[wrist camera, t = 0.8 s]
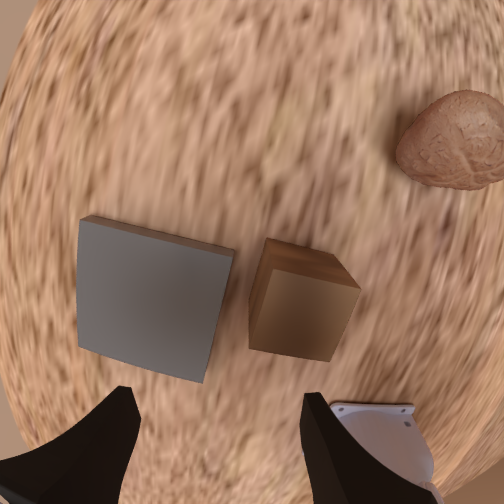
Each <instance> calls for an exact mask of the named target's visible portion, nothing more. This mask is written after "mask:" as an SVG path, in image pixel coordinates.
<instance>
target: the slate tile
mask: <svg viewBox="0 0 504 504" xmlns="http://www.w3.org/2000/svg"><path fill="white" fill-rule="evenodd" d="M233 255H234V250H232V249H228V248H224V247H220V246H216V245H212V244H208V243H203V242H199V241H195V240H191V239H187V238H183V237H179V236H175V235H170V234H166V233H162V232H158V231H154V230H150V229H146V228H142V227H138V226H133V225H129V224H125V223H121V222H117V221H113V220H109V219H105V218H101V217H97V216H92V215H89V216H87V217H85V218H83V219H80V222H79V235H78V250H77V279H76V303H77V332H78V346H79V347H81V348H84V349H87V350H89V351H92V352H95V353H98V354H100V355H103V356H106V357H109V358H112V359H115V360H118V361H121V362H124V363H128V364H131V365H134V366H137V367H141V368H144V369H148V370H151V371H155V372H158V373H162V374H166V375H169V376H173V377H177V378H181V379H185V380H189V381H194V382H198V383H202V384H203V380H204V376H205V372H206V367H207V363H208V359H209V355H210V350H211V346H212V342H213V338H214V333H215V329H216V325H217V321H218V317H219V313H220V309H221V304H222V300H223V296H224V292H225V288H226V284H227V280H228V276H229V272H230V268H231V264H232V260H233Z"/></svg>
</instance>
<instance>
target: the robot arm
mask: <svg viewBox="0 0 504 504" xmlns="http://www.w3.org/2000/svg"><path fill="white" fill-rule="evenodd" d="M414 410H415V407H414V405H372V404H351V403H333V404H332V405H331V406H330V407H329V405H328V404H327V402H326V401H325V399H324V398H323V396H322V394H321V393H320V392H315V393H304V399H303V406H302V412H301V418H300V435H301V444H302V449H303V450H302V455H304V457H305V462H306V466H307V470H308V474H309V478H310V483H311V487H312V493H313V501H314V504H445V503H444V501H443V499H442V497H441V495H440V494H439V492H438V490H437V488H436V487H435V486H434V484H433V483H430V481H431V479H432V476H433V470H434V462H433V457H432V454H431V451H430V449H429V447H428V445H427V443H426V441H425V440H424V438H423V436H422V434H421V432H420V430H419V428H418V426H417V424H416V422H415V421H414V419H413V417H412V415H411V414H412V413H413V412H414ZM140 423H141V416H140V413H139V410H138V407H137V404H136V401H135V398H134V395H133V392H132V388H131V387H125V386H118V387H117V388H115V389H114V390H113V391H112V392H111V393H110V394H109V395H108V396H107V397H106V398H105V399H104V400H103V401H102V402H101V403H100V404H98V405H97V406H96V407H95V408H94V409H93V410H92V411H91V412H90V413H89V414H87V415H86V416H85V417H84V418H83V419H82V420H80V421H79V422H78V423H77V424H75V425H74V426H73V427H72V428H70V429H69V430H67V431H66V432H65V433H63V434H62V435H60V436H58V437H57V438H55V439H54V440H52V441H50V442H48V443H46V444H44V445H42V446H40V447H38V448H36V449H34V450H32V451H30V452H27V453H24V454H21V455H18V456H15V457H12V458H8V459H4V460H0V495H1V496H2V497H3V498H4V499H5V500H7V501H8V502H9V503H10V504H118V500H119V495H120V490H121V485H122V481H123V477H124V474H125V471H126V468H127V466H128V463H129V460H130V457H131V454H132V452H133V449H134V446H135V443H136V440H137V437H138V433H139V428H140ZM0 504H2V503H1V502H0Z"/></svg>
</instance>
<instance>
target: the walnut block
mask: <svg viewBox="0 0 504 504" xmlns="http://www.w3.org/2000/svg"><path fill="white" fill-rule="evenodd" d="M360 292H361V288H360V287H359V285H358V284H357V283H356V282H355V280H354V279H353V278H352V277H351V275H350V274H349V273H348V272H347V270H346V269H345V268H344V267H343V266H342V264H341V263H340V262H339V261H338V259H337V258H336V257H335V256H334V255H333V254H329V253H326V252H322V251H318V250H314V249H310V248H306V247H302V246H298V245H294V244H290V243H286V242H282V241H278V240H274V239H270V238H266V241H265V245H264V249H263V252H262V256H261V259H260V263H259V266H258V270H257V273H256V277H255V281H254V284H253V288H252V291H251V295H250V298H249V349H253V350H258V351H263V352H269V353H274V354H280V355H286V356H292V357H298V358H304V359H310V360H317V361H324V362H330V360H331V358H332V356H333V354H334V352H335V350H336V347H337V345H338V343H339V341H340V339H341V336H342V334H343V332H344V330H345V327H346V325H347V323H348V321H349V318H350V316H351V314H352V311H353V309H354V306H355V304H356V302H357V299H358V297H359V294H360Z"/></svg>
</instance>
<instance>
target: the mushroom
mask: <svg viewBox="0 0 504 504" xmlns="http://www.w3.org/2000/svg"><path fill="white" fill-rule="evenodd" d="M396 162H397V163H398V165H399V166H400V167H401V169H402V170H403V171H404V172H405V173H406V174H407V175H408V176H410V177H411V178H412V179H413V180H416V181H418V182H421V183H422V184H424V185H430V186H436V187H440V188H441V187H445V188H453V189H460V190H469V191H471V190H480V189H482V188H484V187H485V186H487V185H489V184H490V183H494V182H498V181H501V180H502V179H504V105H503V104H501V103H500V102H499V101H498V100H496V99H495V98H493V97H492V96H490V95H489V94H486V93H482V92H479V91H478V92H477V91H473V90H472V91H471V90H462V91H454V92H453V93H450V94H447V95H445V96H443V97H442V98H440V99H437V101H436V102H434V103H432V104H431V105H430V106H429V107H428V108H427V109H425V110H424V111H423V112H422V113H421V114H419V115H418V117H417V118H416V120H415V121H414V122H413V123H412V125H411V126H410V127H408V129H407V130H406V131H405V132H404V135H403V136H402V138H401V140H400V142H399V143H398V146H397V148H396Z"/></svg>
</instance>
